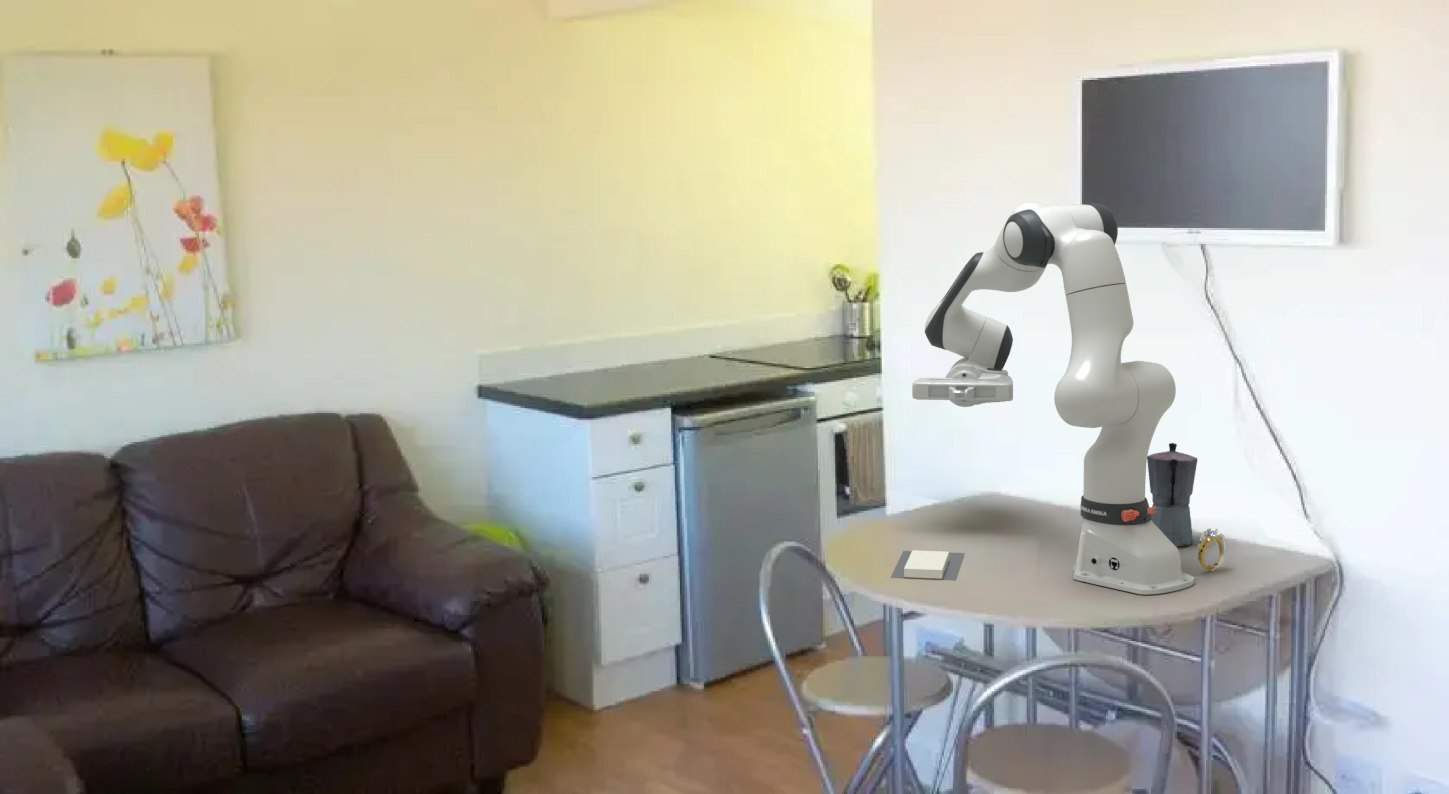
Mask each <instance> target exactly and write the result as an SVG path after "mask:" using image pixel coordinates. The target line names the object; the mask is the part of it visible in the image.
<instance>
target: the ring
mask: <svg viewBox="0 0 1449 794" xmlns="http://www.w3.org/2000/svg"><path fill="white" fill-rule="evenodd" d="M1205 539H1206V540H1205ZM1213 540H1215V541H1216V543H1217V545H1218V549H1219V553H1218V558H1217V560H1216V561H1215V562H1214V563H1213V564H1209V565H1206V562H1205V559H1204V558H1205V553H1206V550H1207V548H1208V547H1209V545H1210V544H1211V542H1212V541H1213ZM1226 554H1227V542H1226V537H1225V535H1224V534H1223V533H1220V532H1219V530H1218V528H1215V530H1212V528H1210V527H1209V528H1207V529H1206V530H1204V531H1203V532H1202V534H1201V536H1200V538H1199V540H1198V544H1197V549H1196V558H1197V559H1196V560H1197V562H1198V565H1199V566H1200V568H1202V569H1203V570H1206V571H1209V572H1212V571H1213V572H1215V571H1216V570H1217V569H1219V568H1220V566H1222V564H1223V562H1224V560H1225V558H1226Z"/></svg>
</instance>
